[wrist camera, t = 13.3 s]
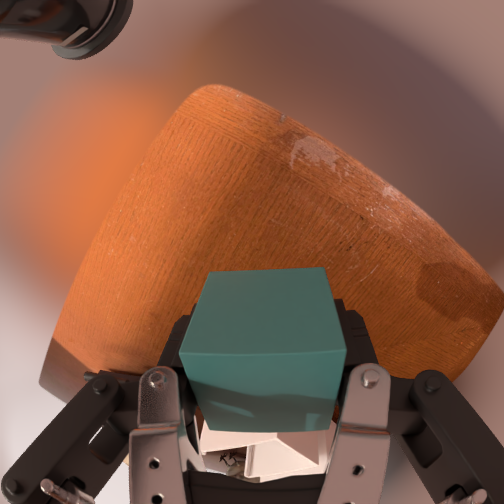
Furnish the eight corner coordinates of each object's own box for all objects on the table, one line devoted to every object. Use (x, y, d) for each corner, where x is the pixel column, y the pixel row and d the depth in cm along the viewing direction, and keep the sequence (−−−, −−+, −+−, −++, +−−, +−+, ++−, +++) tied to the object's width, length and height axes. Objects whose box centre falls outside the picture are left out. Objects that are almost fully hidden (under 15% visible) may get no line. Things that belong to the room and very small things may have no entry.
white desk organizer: (345, 433, 42) (351, 483, 32) (293, 448, 45) (292, 496, 36) (278, 363, 34) (276, 437, 24) (212, 386, 37) (197, 451, 28)
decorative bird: (265, 472, 53) (264, 497, 46) (216, 451, 49) (211, 480, 42) (283, 468, 51) (282, 494, 44) (234, 447, 47) (229, 478, 40)
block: (224, 351, 13) (208, 430, 9) (209, 271, 11) (177, 353, 7) (319, 349, 12) (329, 430, 8) (324, 266, 11) (347, 350, 7)
